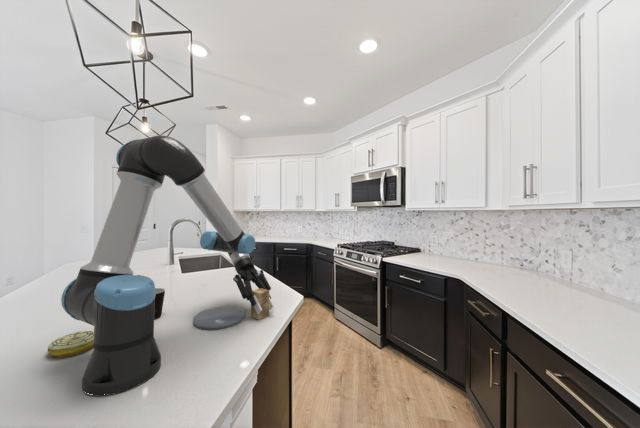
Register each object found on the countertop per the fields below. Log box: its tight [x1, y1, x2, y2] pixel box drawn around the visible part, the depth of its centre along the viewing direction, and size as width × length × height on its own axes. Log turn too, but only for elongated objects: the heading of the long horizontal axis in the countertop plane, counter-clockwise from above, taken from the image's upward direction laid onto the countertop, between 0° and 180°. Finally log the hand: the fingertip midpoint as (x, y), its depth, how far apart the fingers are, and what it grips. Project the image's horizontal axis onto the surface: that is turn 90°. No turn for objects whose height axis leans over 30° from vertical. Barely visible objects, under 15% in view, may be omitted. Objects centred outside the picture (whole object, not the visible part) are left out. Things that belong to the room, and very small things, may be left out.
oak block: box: [250, 288, 270, 320], centre depth 98 cm, size 5×5×10 cm
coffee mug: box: [154, 287, 166, 321], centre depth 94 cm, size 12×9×10 cm
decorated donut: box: [47, 330, 94, 358], centre depth 72 cm, size 10×11×4 cm
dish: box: [192, 306, 245, 331], centre depth 94 cm, size 18×18×2 cm
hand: (265, 309), depth 95 cm, fingers closed on oak block, 5 cm apart
